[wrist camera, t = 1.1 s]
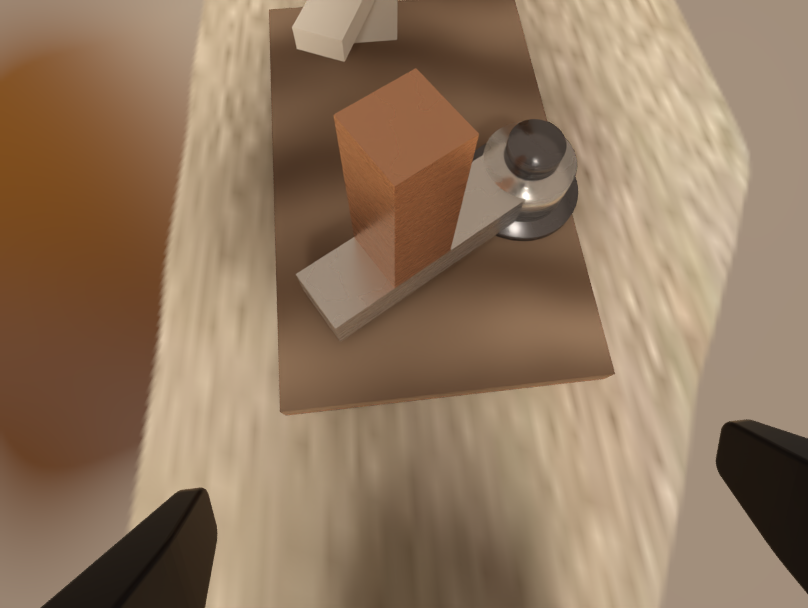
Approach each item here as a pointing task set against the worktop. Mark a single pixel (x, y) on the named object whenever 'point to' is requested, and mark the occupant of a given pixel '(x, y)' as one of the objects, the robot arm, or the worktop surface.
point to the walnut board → (461, 282)
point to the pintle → (536, 174)
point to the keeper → (343, 25)
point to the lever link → (417, 199)
